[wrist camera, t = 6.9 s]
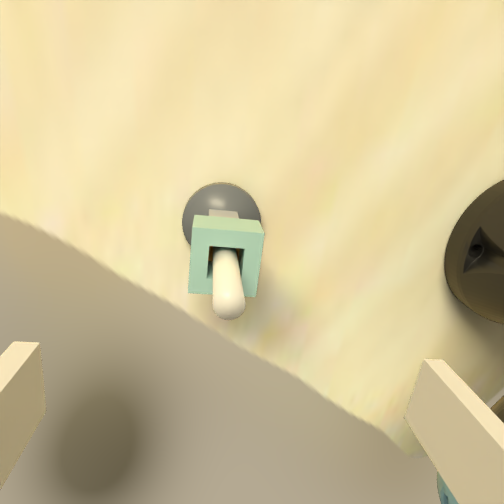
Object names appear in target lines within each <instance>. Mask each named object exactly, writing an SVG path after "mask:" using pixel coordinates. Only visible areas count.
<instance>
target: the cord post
mask: <svg viewBox="0 0 504 504" xmlns="http://www.w3.org/2000/svg"><path fill="white" fill-rule="evenodd" d="M194 215H204V216H216V217H227V218H238V219H249V220H259V222H260V224H261V217H260V213H259V210H258V207H257V205H256V203H255V201H254V200H253V198H252V197H251V196H250V195H249V194H248V193H247V192H246V191H245V190H243V189H242V188H240V187H238V186H236V185H233V184H230V183H213V184H209V185H206V186H204V187H202V188H200V189H199V190H198V191H196V192H195V193H194V194H193V195H192V196H191V198H190V199H189V201H188V202H187V204H186V207H185V210H184V213H183V218H182V226H183V232H184V235H185V237H186V240H187V241H188V243H189V244H190V245H191V239H192V226H193V221H194ZM239 249H240V248H230V247H217V246H209V255H208V261H213V310H214V312H215V314H216V315H217V316H218V317H220V318H222V319H225V320H232V319H235V318H238V317H239V316H240V315H241V314H242V313H243V312H244V310H245V306H246V304H245V297H244V292H243V286H242V281H241V275H240V269H239V264H238V258H239Z"/></svg>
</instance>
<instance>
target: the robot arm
mask: <svg viewBox="0 0 504 504" xmlns="http://www.w3.org/2000/svg"><path fill="white" fill-rule="evenodd" d="M445 272H446V277H447V281H448V284H449V286H450V288H451V290H452V292H453V293H454V295H455V296H456V297H457V298H458V299H459V300H460V301H461V302H462V303H463V304H465V305H466V306H467V307H469V308H470V309H471V310H473V311H474V312H476V313H477V314H479V315H480V316H482V317H484V318H486V319H489V320H491V321H494V322H498V323H501V324H504V180H502V181H500V182H498V183H497V184H495V185H493V186H492V187H490V188H489V189H487V190H486V191H485V192H484V193H482V194H481V195H480V196H479V197H478V198H477V199H476V200H475V201H474V202H473V203H472V204H471V205H470V206H469V207H468V208H467V209H466V211H465V212H464V213H463V215H462V216H461V217H460V219H459V221H458V222H457V224H456V226H455V228H454V230H453V232H452V234H451V237H450V239H449V242H448V246H447V250H446V256H445ZM45 413H46V402H45V391H44V381H43V371H42V360H41V350H40V343H34V342H13V343H12V344H11V345H10V346H9V348H8V349H7V350H6V351H5V352H4V353H3V354H2V355H1V356H0V490H1V488H2V486H3V485H4V483H5V481H6V480H7V478H8V476H9V474H10V473H11V471H12V469H13V467H14V466H15V464H16V462H17V461H18V459H19V457H20V455H21V454H22V452H23V450H24V449H25V447H26V445H27V444H28V442H29V440H30V438H31V437H32V435H33V433H34V432H35V430H36V428H37V426H38V425H39V423H40V421H41V420H42V418H43V416H44V414H45ZM404 419H405V420H406V422H407V423H408V425H409V427H410V428H411V430H412V431H413V433H414V434H415V436H416V438H417V439H418V441H419V442H420V444H421V445H422V447H423V449H424V450H425V452H426V453H427V455H428V456H429V458H430V460H431V461H432V463H433V464H434V466H435V467H436V469H437V471H438V472H437V487H438V493H439V497H440V501H441V504H504V396H503V397H502V398H501V399H500V400H499V401H498V402H496V404H495V405H493V406H492V407H491V409H490V408H489V407H488V406H487V405H486V404H485V403H484V402H483V401H482V400H481V399H480V398H479V397H478V396H477V395H476V394H475V393H474V392H473V391H472V390H471V389H470V388H469V386H468V385H467V384H466V383H465V382H464V381H463V380H462V379H461V378H460V377H459V376H458V375H457V374H456V373H455V372H454V371H453V370H452V369H451V368H450V367H449V366H448V364H447V363H446V362H445V361H444V360H440V359H423V362H422V365H421V368H420V371H419V374H418V377H417V380H416V383H415V386H414V389H413V392H412V395H411V398H410V401H409V404H408V407H407V410H406V413H405V416H404Z"/></svg>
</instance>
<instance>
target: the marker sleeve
mask: <svg viewBox="0 0 504 504" xmlns="http://www.w3.org/2000/svg"><path fill="white" fill-rule="evenodd" d="M264 234H265V233H264V231H263V229H262V227H261V224H260V222H259V220H249V219H238V218H227V217H216V216H204V215H194V221H193V226H192V239H191V254H190V270H189V285H188V293H196V294H212V295H213V261H208V255H209V246H217V247H230V248H240V249H239V258H238V264H239V269H240V275H241V281H242V286H243V292H244V296H246V297H256V292H257V285H258V277H259V270H260V263H261V256H262V248H263V241H264Z"/></svg>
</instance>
